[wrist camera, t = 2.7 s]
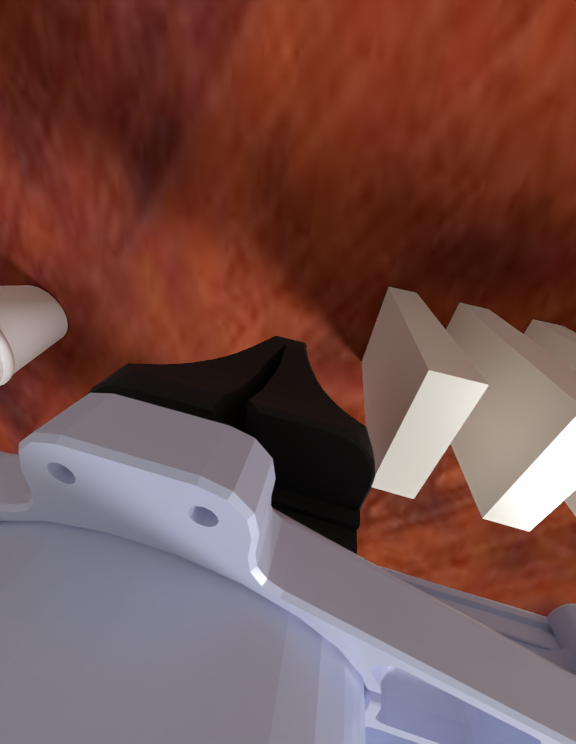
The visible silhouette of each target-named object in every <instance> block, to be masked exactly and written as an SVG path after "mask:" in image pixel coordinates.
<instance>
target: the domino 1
mask: <svg viewBox="0 0 576 744" xmlns="http://www.w3.org/2000/svg"><path fill="white" fill-rule="evenodd" d="M362 374H363V390H364V406H365V422H366V428H367V431H368V434H369V438H370V441H371V445H372V449H373V453H374V459H375V474H376V475H375V478H374V481H373V485H372V487H373V488H377V489H380V490H384V491H387V492H391V493H394V494H398V495H401V496H405V497H408V498H412V499H414V498H415V496H416V495H417V493H418V492H419V490H420V489H421V487H422V486H423V484H424V483H425V481H426V480H427V478H428V477H429V475H430V474H431V472H432V471H433V469H434V468H435V466H436V465H437V463H438V462H439V460H440V459H441V457H442V456H443V454H444V452H445V451H446V449H447V448H448V446H449V445H450V443H451V442H452V440H453V439H454V437H455V436H456V434H457V433H458V431H459V430H460V428H461V427H462V425H463V424H464V422H465V421H466V419H467V418H468V416H469V415H470V413H471V412H472V410H473V409H474V407H475V406H476V404H477V402H478V401H479V399H480V398H481V396H482V395H483V393H484V392H485V390H486V389H487V387H488V386H489V384H488V383H487V382H486V380H485V379H484V378H483V376H482V375H481V374H480V373H479V371H478V370H477V369H476V368H475V366H474V365H473V364H472V363H471V361H470V360H469V359H468V357H467V356H466V355H465V354H464V352H463V351H462V350H461V349H460V347H459V346H458V345H457V343H456V342H455V341H454V340H453V338H452V337H451V336H450V335H449V333H448V332H447V331H446V329H445V328H444V327H443V326H442V324H441V323H440V322H439V321H438V319H437V318H436V317H435V316H434V314H433V313H432V312H431V310H430V309H429V308H428V307H427V305H426V304H425V303H424V302H423V300H422V299H421V298H420V296H419V295H418V294H417V293H415V292H411V291H406V290H402V289H398V288H393V287H388V290H387V292H386V295H385V298H384V301H383V303H382V306H381V309H380V312H379V315H378V317H377V320H376V323H375V326H374V329H373V331H372V334H371V337H370V340H369V343H368V345H367V348H366V351H365V354H364V356H363V359H362Z"/></svg>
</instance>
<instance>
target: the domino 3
mask: <svg viewBox="0 0 576 744" xmlns="http://www.w3.org/2000/svg"><path fill="white" fill-rule="evenodd" d="M524 335H525V336H527V337H528V338H530V339H531V340H532V341H534V342H535V343H537V344H538V345H539V346H541V347H542V348H543V349H545V350H546V351H548V352H549V353H550V354H552V355H553V356H555V357H556V358H557V359H559V360H560V361H562V362H563V363H564V364H566V365H567V366H569V367H570V368H571V369H573V370H574V371H576V333H575V332H573V331H572V330H570V329H568V328H566V327H564V326H561V325H557V324H552V323H548V322H544V321H539V320H535V319H533V320H532V322H531V323H530V325H529V326H528V328H527V329H526V331H525V332H524ZM564 501H565V503H566V504H567V505H568V507H569V508H570V509H571V511H572V512H573V513H574V515H575V516H576V490H575V491H574V492H573V493H572V494H571V495H569V496H568V497H567V498H566V499H565V500H564Z"/></svg>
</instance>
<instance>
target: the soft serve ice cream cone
mask: <svg viewBox="0 0 576 744" xmlns="http://www.w3.org/2000/svg"><path fill="white" fill-rule="evenodd" d="M67 329H68V322H67V318H66V315H65V313H64V311H63V309H62V307H61V306H60V304H59V303H58V302H57V301H56V300H55V298H53V297H52V296H51V295H50V294H49V293H47V292H46V291H44V290H42V289H41V288H38V287H35V286H30V285H17V286H0V386H1V385H4V384H5V383H6V382H8V381H9V380H10V379H11V377H12V375H13V374H14V373H15V372H17V371H18V370H19V369H21V368H22V367H23V366H25V365H26V364H27V363H29V362H30V361H31V360H33V359H34V358H35V357H37V356H38V355H39V354H41V353H42V352H43V351H45V350H46V349H47V348H49V347H50V346H52V345H53V344H54V343H56V342H57V341H58V340H60V339H61V338H62V337H64V335H65V334H66V332H67Z"/></svg>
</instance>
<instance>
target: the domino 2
mask: <svg viewBox="0 0 576 744" xmlns="http://www.w3.org/2000/svg"><path fill="white" fill-rule="evenodd" d="M446 331H447V332H448V333H449V335H450V336H451V337H452V338H453V340H454V341H455V342H456V343H457V345H458V346H459V347H460V349H461V350H462V351H463V352H464V354H465V355H466V356H467V357H468V359H469V360H470V361H471V363H472V364H473V365H474V366H475V368H476V369H477V370H478V371H479V373H480V374H481V375H482V376H483V378H484V379H485V380H486V382H487V383H488V384H489V386H488V387H487V389H486V390H485V392H484V393H483V395H482V396H481V398H480V399H479V401H478V402H477V404H476V406H475V407H474V409H473V410H472V412H471V413H470V415H469V416H468V418H467V419H466V421H465V422H464V424H463V425H462V427H461V428H460V430H459V431H458V433H457V434H456V436H455V437H454V439H453V440H452V442H451V446H452V448H453V450H454V453H455V455H456V457H457V460H458V462H459V465H460V467H461V469H462V472H463V474H464V476H465V479H466V481H467V483H468V486H469V488H470V491H471V493H472V495H473V498H474V500H475V502H476V505H477V507H478V509H479V512H480V514H481V516H482V518H483V519H486V520H490V521H493V522H497V523H501V524H504V525H508V526H511V527H515V528H518V529H522V530H525V531H531V530H532V529H533V528H534V527H535V526H536V525H537V524H538V523H539V522H541V521H542V520H543V519H544V518H545V517H546V516H547V515H548V514H549V513H551V512H552V511H553V510H554V509H555V508H556V507H557V506H558V505H559V504H561V503H562V502H563V501H564V500H565V499H566V498H567V497H568V496H569V495H571V494H572V493H573V492H574V491H575V490H576V371H574V370H573V369H571V368H570V367H569V366H567V365H566V364H564V363H563V362H562V361H560V360H559V359H557V358H556V357H555V356H553V355H552V354H550V353H549V352H548V351H546V350H545V349H543V348H542V347H541V346H539V345H538V344H537V343H535V342H534V341H532V340H531V339H530V338H528V337H527V336H525V335H524V334H523V333H521V332H520V331H518V330H517V329H516V328H514V327H513V326H511V325H510V324H509V323H507V322H506V321H504V320H503V319H502V318H500V317H499V316H498V315H496V314H495V313H493V312H492V311H491V310H489V309H486V308H482V307H477V306H473V305H468V304H464V303H459V304H458V306H457V308H456V310H455V312H454V314H453V316H452V318H451V320H450V322H449V324H448V326H447V328H446Z"/></svg>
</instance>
